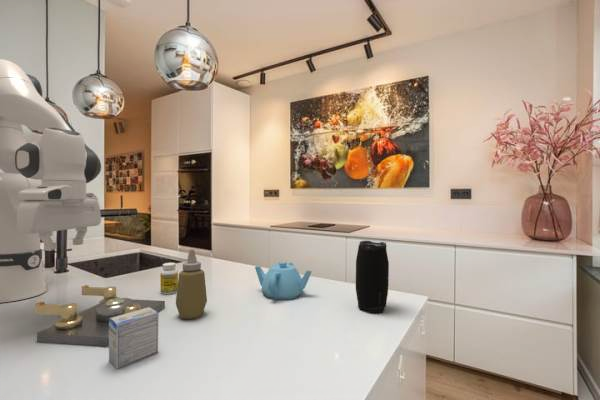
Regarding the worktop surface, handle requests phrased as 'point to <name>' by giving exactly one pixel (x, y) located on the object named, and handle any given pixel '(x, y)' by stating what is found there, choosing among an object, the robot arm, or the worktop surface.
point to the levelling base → (96, 322)
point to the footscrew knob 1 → (66, 312)
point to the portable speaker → (372, 276)
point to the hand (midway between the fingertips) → (64, 247)
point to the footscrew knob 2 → (100, 292)
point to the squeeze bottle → (191, 289)
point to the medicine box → (133, 336)
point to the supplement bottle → (169, 279)
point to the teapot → (282, 281)
